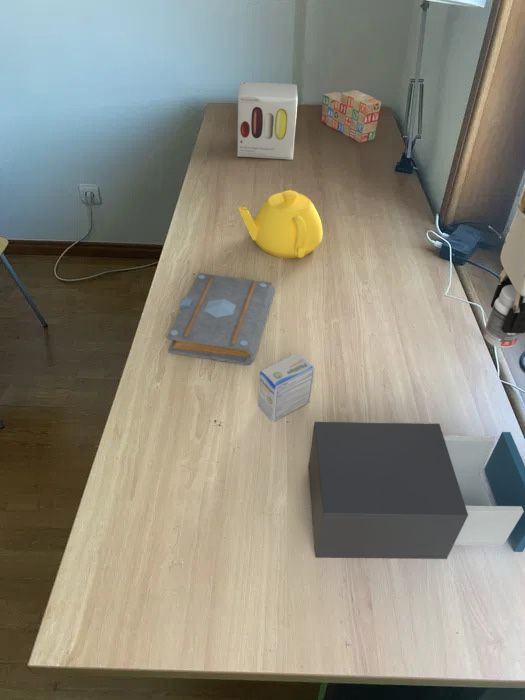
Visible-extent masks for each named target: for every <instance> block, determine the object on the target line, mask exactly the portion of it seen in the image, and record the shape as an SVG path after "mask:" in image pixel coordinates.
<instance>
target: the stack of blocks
mask: <svg viewBox="0 0 525 700" xmlns="http://www.w3.org/2000/svg"><path fill="white" fill-rule="evenodd" d="M381 105H382V101H381V100H379V99H377V98H375V97H374V96H371V95H369V94H366V93H363V92H362V91H360V90H357V89H353V90H349V91H344V92H339V91H334V92H329V93H324V94H323V95H322V108H321V117H320V122H321V123H323V124H324V125H326V126H328V127H330V128H332V129H333V130H335V131H337V132H339V133H341V134H343V135H345V136H347V137H349V139H352V140H354V141H355V142H357V143H359V144H364V143H368V142H372V141H375V139H376V135H377V129H378V121H379V117H380V111H381Z"/></svg>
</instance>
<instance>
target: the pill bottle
mask: <svg viewBox="0 0 525 700" xmlns="http://www.w3.org/2000/svg"><path fill="white" fill-rule="evenodd" d="M516 294H517V291H516V289H515V288H514V286H513V285H507V286H505V287H503V289H502V291H501V293H500V297H499V298H497V299H496V301H495V303H494V305H493V308H491V311H490V313H489V317H488V319H487V322H486V325H485V328H484V331H483V339H485V341H487V343H489V344H490V345H492V346H494V347H495V348H501V349H507V348H512V347H513V346H515V345H516V344H517V341H518V338H519V337H520V334H521V333H503V331H502V327H503V324H504V322H505V319H506V317H507V314H508V311H509V309H510V308H513V306H514V302H515V298H516ZM522 303H525V296H524V298H523V302H522Z"/></svg>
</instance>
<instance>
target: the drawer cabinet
mask: <svg viewBox="0 0 525 700" xmlns="http://www.w3.org/2000/svg"><path fill="white" fill-rule="evenodd" d="M443 436H444V433H443V431H442V428H441V424H440V423H433V422H432V423H429V422H428V423H427V422H425V423H424V422H368V421H367V422H366V421H365V422H364V421H363V422H362V421H360V422H359V421H314V423H313V430H312V437H311V444H310V452H309V459H308V466H307V469H308V470H307V471H308V482H309V495H310V505H311V506H310V509H311V519H312V520H311V521H312V531H313V544H314V545H313V547H314V557H315V558H316V559H317V558H319V559H320V558H321V559H323V558H325V559H407V560H408V559H409V560H410V559H414V560H415V559H419V560H420V559H421V560H424V559H425V560H428V559H429V560H432V559H433V560H437V559H438V560H447V559H448V557H449V555H450V553H451V551H452V549H453V547H454V546H455V545H454V543H455V541H456V539H457V537H458V535H459V533H460V531H461V529H462V527H463V525H464V523H465V521H466V519H467V517H468V513H467V510H466V507H465V503H464V500H463V497H462V494H461V491H460V488H459V484H458V481H457V478H456V475H455V472H454V468H453V465H452V462H451V459H450V456H449V453H448V449H447V446H446V443H445V440H444V437H443Z"/></svg>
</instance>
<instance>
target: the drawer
mask: <svg viewBox="0 0 525 700" xmlns="http://www.w3.org/2000/svg"><path fill="white" fill-rule="evenodd" d="M443 437H444V440H445V443H446V446H447V449H448V453H449V456H450V459H451V462H452V465H453V468H454V472H455V475H456V478H457V481H458V484H459V488H460V491H461V494H462V497H463V500H464V503H465V507H466V510H467V513H468V517H467V519H466V521H465V523H464V525H463V527H462V529H461V531H460V533H459V535H458V537H457V539H456V541H455V543H454V545H453V546H485V547H486V546H487V547H488V546H489V547H490V546H491V547H493V546H494V547H495V546H496V547H497V546H498V547H503V546H504V545H505V543H506V541H507V540H509V542H510V546H511V549H512V551H513V553H523V552H524V551H525V463H524V460H523V458H522V456H521V453H520V451H519V449H518V447H517V444H516V442H515V439H514V437H513V435H512V432H511V431H501V434H500V435H499V437H498V439H497V442H496V438H495V436H493V435H492V436H489V435H486V436H484V435H482V436H481V435H443ZM494 445H495V446H494ZM492 449H493V450H492ZM488 457H489V458H488ZM487 459H488V460H487ZM485 464H486V465H485ZM482 470H483V471H484V473H485V476H486V479H487V482H488V484H489V488H490V490H491V493H492V496H493V499H494V501H495V504H496V505H492V503H491V500H490V497H489V494H488V492H487V489H486V486H485V483H484V480H483V478H482V475H481V472H482Z"/></svg>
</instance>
